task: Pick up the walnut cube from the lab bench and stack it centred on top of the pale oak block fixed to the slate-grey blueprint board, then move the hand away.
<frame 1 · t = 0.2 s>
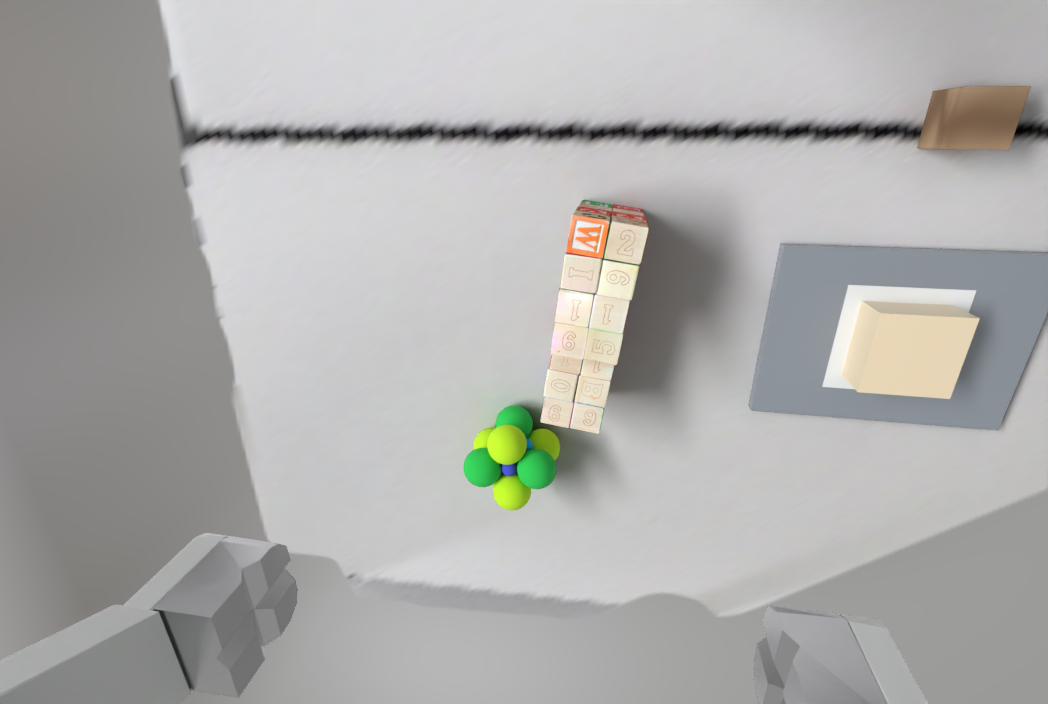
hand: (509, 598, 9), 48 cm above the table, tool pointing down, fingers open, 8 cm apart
blueprint board: (888, 336, 52), on the table
stack of blocks: (592, 302, 56), on the table
molecule model: (519, 436, 64), on the table
walnut cube: (953, 120, 44), on the table
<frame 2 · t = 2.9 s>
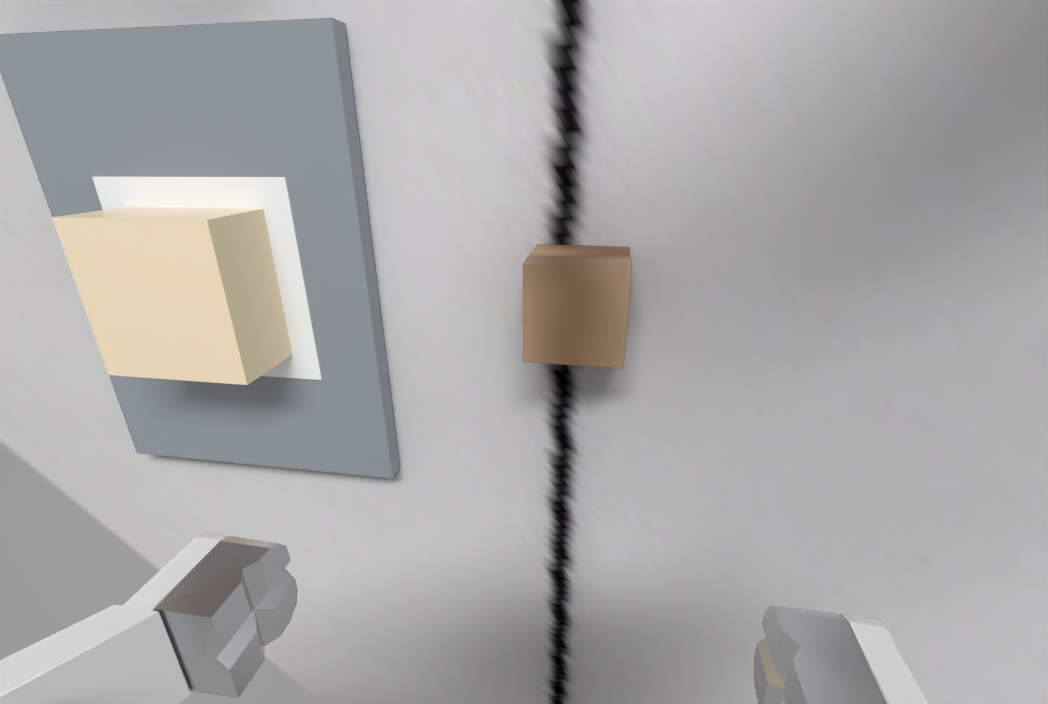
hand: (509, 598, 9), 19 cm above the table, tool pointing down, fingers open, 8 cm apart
blueprint board: (228, 277, 29), on the table
walnut cube: (580, 289, 26), on the table
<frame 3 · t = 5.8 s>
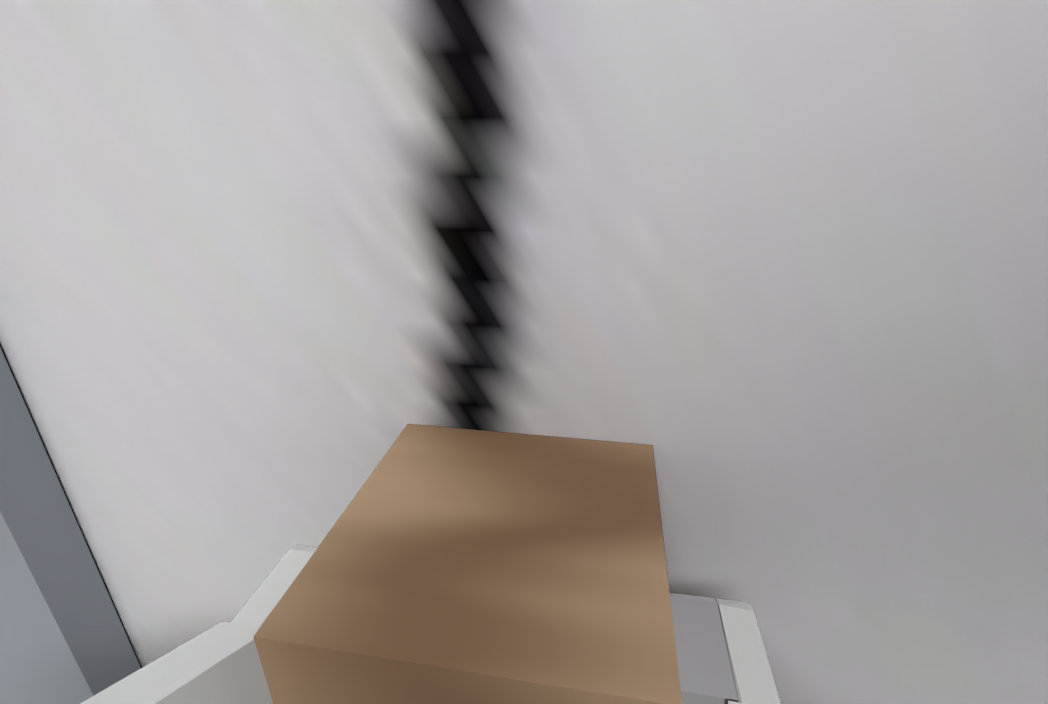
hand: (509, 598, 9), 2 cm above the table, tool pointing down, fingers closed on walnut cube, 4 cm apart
walnut cube: (525, 531, 10), on the table, touching gripper
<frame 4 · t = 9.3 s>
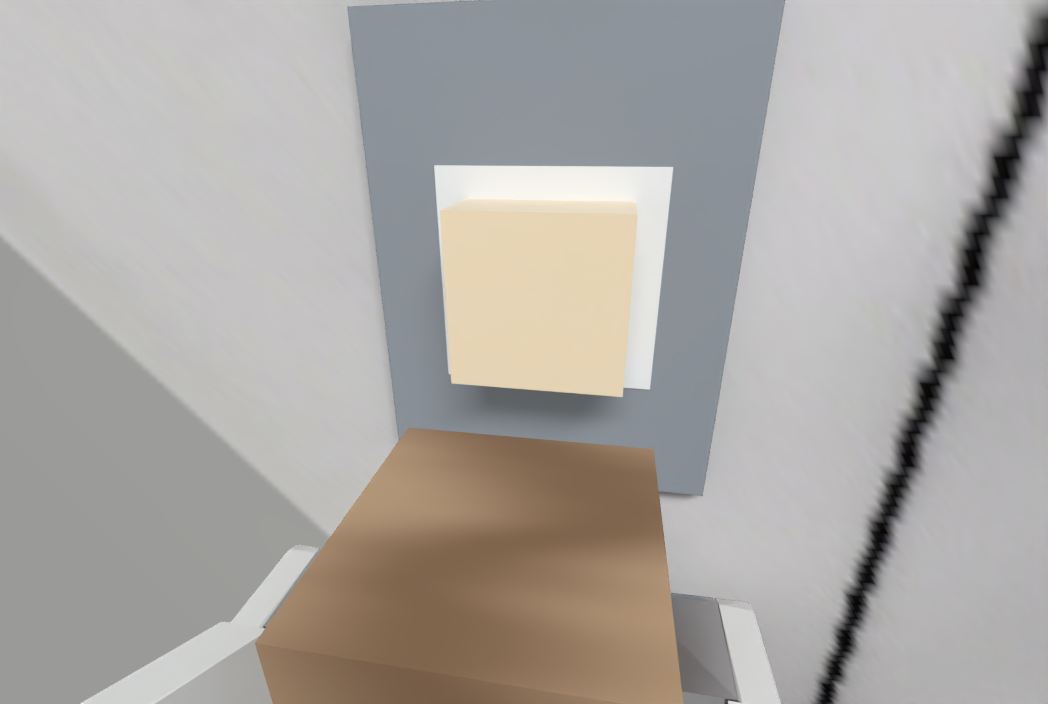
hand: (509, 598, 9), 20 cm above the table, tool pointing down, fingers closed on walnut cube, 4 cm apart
blueprint board: (550, 276, 27), on the table
walnut cube: (526, 534, 10), point 18 cm above the table, touching gripper
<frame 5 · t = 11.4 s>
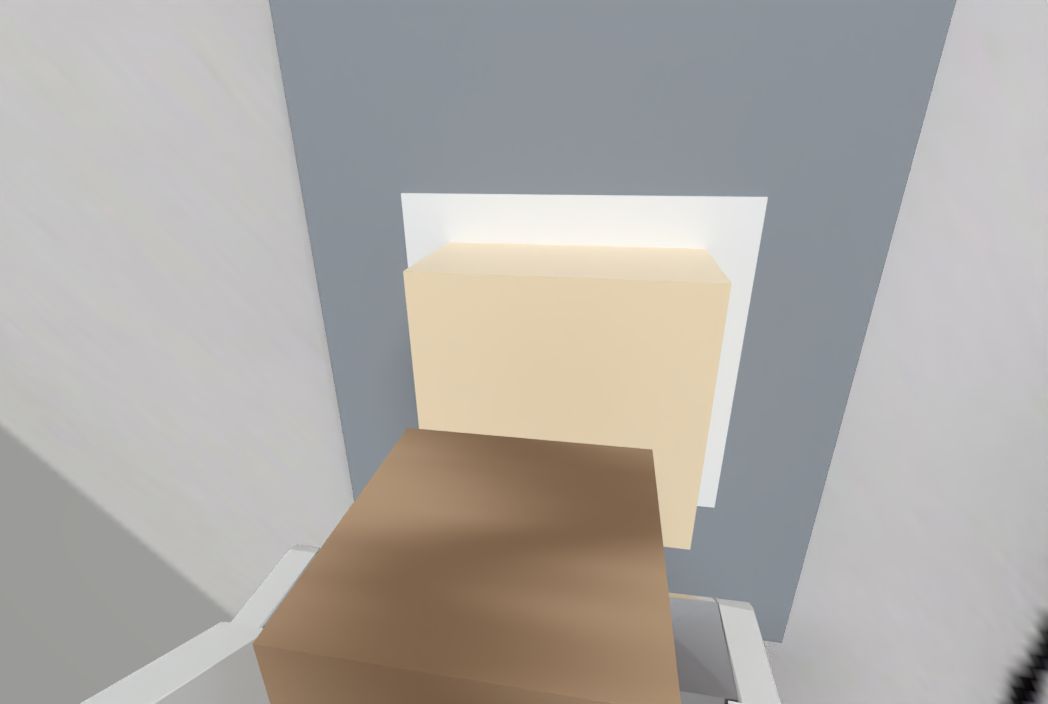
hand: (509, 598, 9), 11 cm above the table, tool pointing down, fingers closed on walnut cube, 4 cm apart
blueprint board: (572, 347, 19), on the table
walnut cube: (525, 535, 10), point 10 cm above the table, touching gripper
when the fingers open (9 cm above the table, at t = 13.0 s): walnut cube drops 2 cm, resting on blueprint board.
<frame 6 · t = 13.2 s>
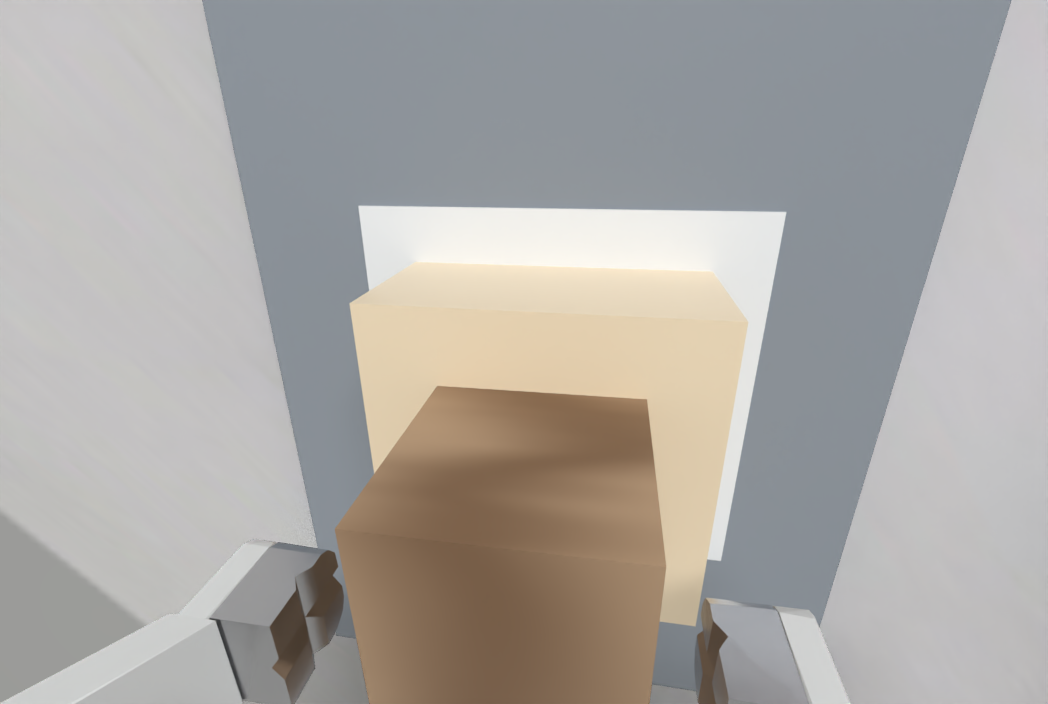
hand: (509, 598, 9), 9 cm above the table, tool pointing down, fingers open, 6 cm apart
blueprint board: (559, 379, 16), on the table
walnut cube: (538, 479, 12), point 5 cm above the table, touching blueprint board
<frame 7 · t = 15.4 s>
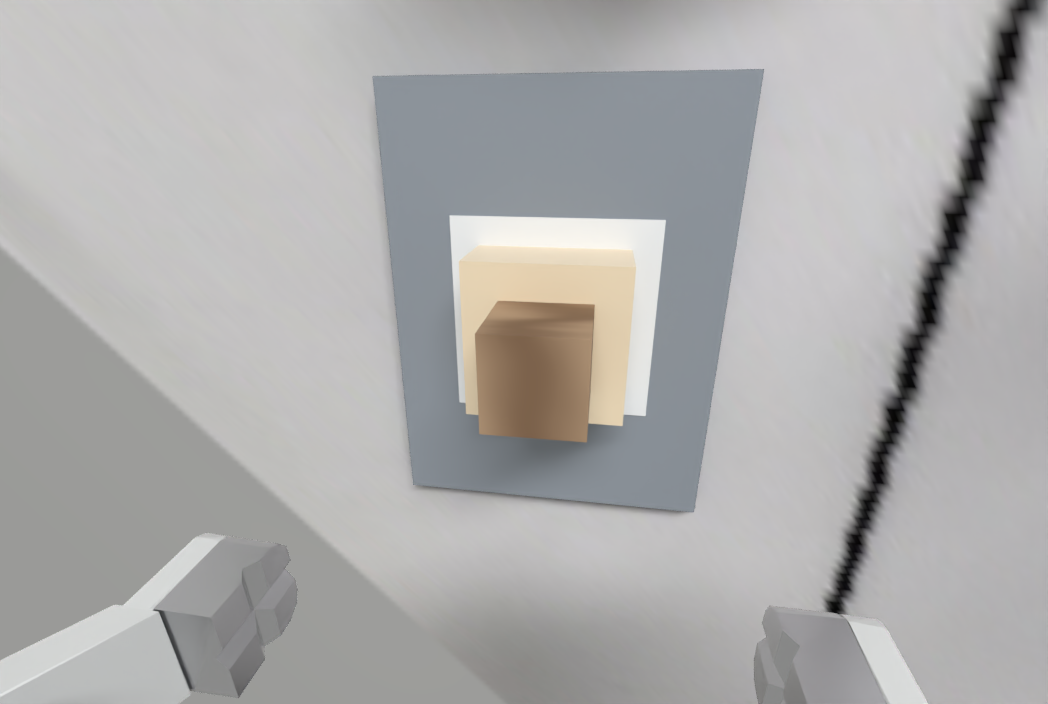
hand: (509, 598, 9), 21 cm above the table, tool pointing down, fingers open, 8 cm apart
blueprint board: (554, 313, 29), on the table
walnut cube: (545, 347, 24), point 5 cm above the table, touching blueprint board
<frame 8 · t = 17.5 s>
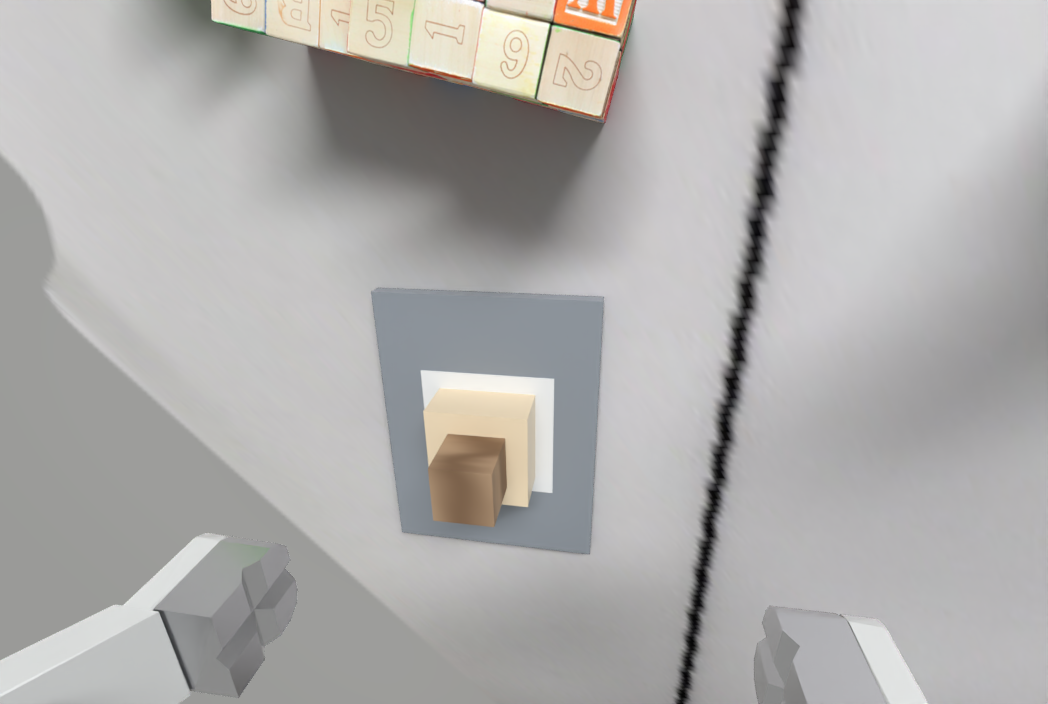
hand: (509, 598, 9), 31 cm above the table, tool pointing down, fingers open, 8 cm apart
blueprint board: (491, 425, 44), on the table
stack of blocks: (462, 33, 33), on the table
walnut cube: (477, 460, 40), point 5 cm above the table, touching blueprint board
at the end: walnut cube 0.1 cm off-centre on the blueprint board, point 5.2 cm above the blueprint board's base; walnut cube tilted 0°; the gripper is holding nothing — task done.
